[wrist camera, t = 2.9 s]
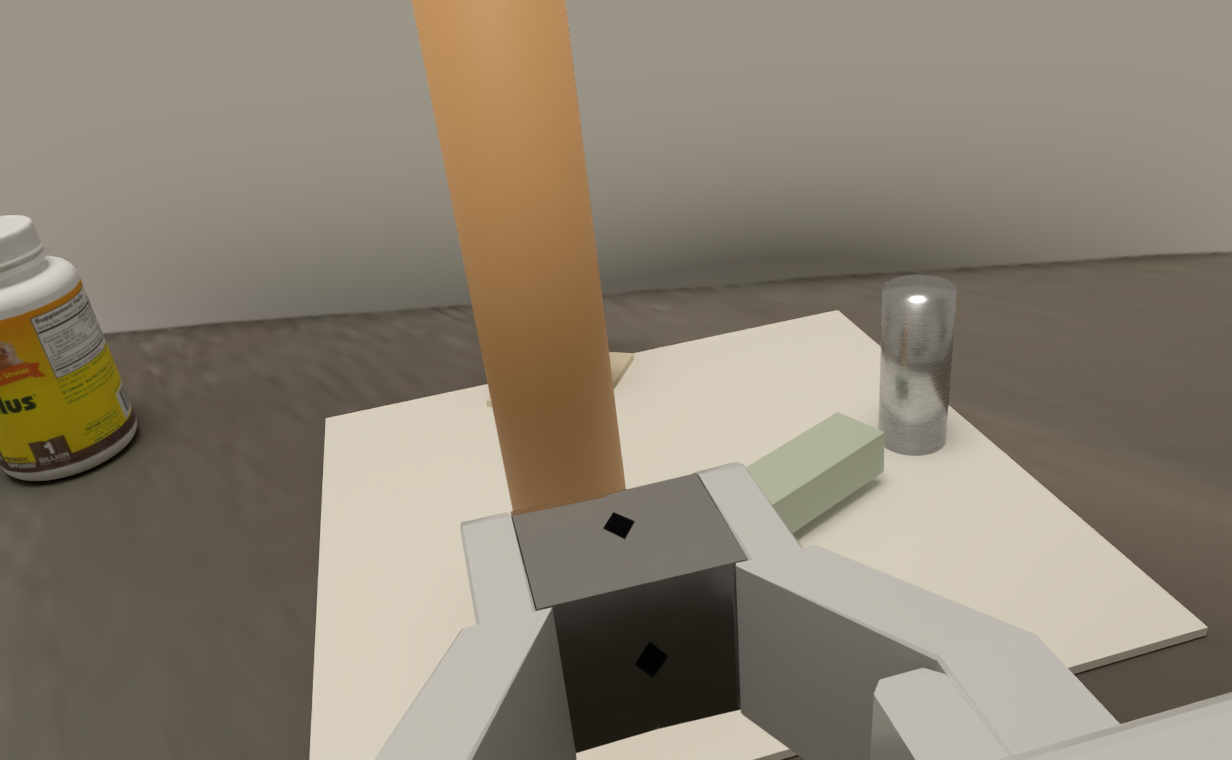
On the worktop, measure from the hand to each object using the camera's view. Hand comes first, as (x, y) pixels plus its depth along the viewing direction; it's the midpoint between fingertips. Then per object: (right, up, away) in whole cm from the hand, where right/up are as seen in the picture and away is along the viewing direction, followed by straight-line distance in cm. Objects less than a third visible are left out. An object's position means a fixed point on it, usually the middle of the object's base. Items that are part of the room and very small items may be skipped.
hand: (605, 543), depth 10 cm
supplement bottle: (-24, -2, +32) cm, 40 cm away
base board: (+2, -3, +23) cm, 24 cm away
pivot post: (+11, 0, +25) cm, 27 cm away
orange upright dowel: (+4, -4, +20) cm, 20 cm away
